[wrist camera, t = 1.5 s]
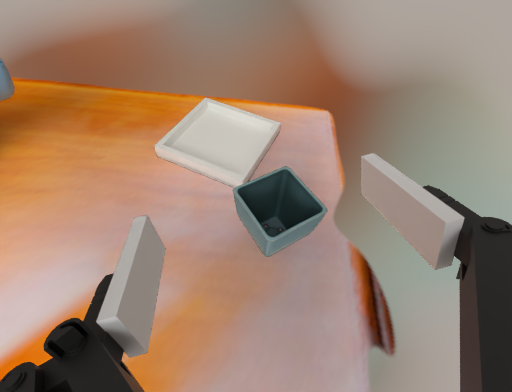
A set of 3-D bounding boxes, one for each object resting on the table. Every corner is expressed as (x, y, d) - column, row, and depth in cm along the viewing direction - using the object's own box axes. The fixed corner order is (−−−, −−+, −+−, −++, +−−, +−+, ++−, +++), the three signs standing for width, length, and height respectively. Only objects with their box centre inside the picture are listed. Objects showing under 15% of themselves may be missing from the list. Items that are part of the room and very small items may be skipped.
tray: (157, 156, 48) (154, 146, 46) (206, 107, 58) (205, 97, 56) (242, 190, 45) (242, 181, 43) (278, 133, 55) (280, 123, 53)
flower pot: (231, 225, 41) (230, 187, 34) (278, 202, 44) (287, 164, 37) (261, 273, 36) (269, 242, 29) (312, 244, 40) (329, 210, 33)
